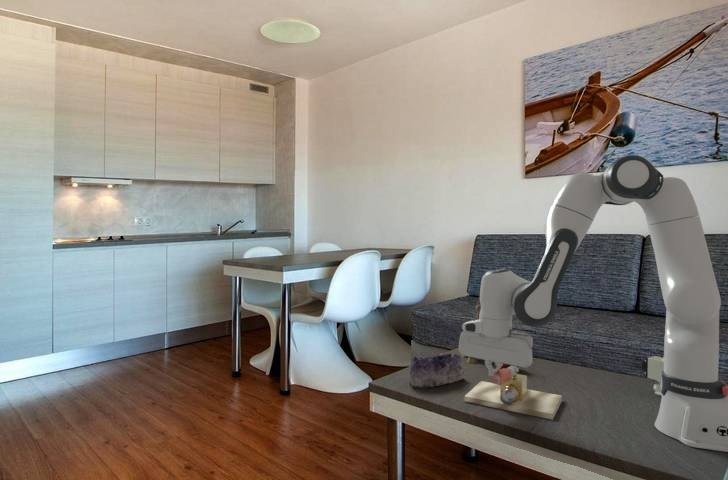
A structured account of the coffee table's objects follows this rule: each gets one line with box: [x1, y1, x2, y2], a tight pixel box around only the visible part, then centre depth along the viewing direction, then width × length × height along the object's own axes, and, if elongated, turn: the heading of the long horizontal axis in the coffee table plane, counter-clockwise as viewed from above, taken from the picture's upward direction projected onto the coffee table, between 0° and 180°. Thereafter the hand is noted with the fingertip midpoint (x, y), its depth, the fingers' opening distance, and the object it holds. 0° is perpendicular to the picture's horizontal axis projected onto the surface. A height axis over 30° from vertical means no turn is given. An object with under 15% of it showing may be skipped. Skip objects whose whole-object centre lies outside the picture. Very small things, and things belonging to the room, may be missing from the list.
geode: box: [409, 353, 465, 389], centre depth 152 cm, size 20×12×10 cm, turn 128°
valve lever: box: [492, 366, 520, 385], centre depth 131 cm, size 13×3×3 cm, turn 141°
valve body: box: [500, 373, 528, 405], centre depth 135 cm, size 6×16×6 cm, turn 149°
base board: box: [463, 380, 563, 421], centre depth 135 cm, size 24×16×2 cm, turn 59°
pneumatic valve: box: [640, 355, 664, 397], centre depth 141 cm, size 6×12×12 cm, turn 32°
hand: (493, 376), depth 129 cm, fingers closed
